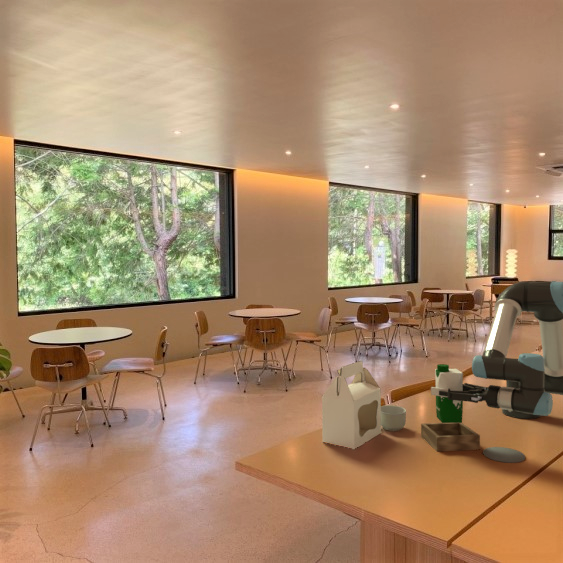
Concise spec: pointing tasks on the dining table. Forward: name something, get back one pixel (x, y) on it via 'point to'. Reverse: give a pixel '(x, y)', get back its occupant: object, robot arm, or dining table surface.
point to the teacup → (393, 417)
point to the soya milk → (447, 408)
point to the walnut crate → (450, 436)
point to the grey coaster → (504, 454)
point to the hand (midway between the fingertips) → (437, 388)
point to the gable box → (351, 408)
